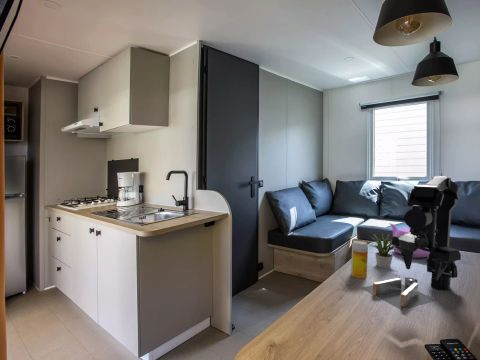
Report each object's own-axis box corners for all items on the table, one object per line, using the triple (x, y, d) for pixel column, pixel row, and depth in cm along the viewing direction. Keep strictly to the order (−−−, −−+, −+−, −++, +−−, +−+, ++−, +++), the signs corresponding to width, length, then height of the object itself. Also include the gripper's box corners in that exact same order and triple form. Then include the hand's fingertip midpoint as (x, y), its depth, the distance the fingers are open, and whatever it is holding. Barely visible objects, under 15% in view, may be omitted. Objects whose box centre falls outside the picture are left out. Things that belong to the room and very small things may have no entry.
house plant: (405, 277, 119) (407, 239, 118) (369, 272, 123) (371, 235, 122) (399, 265, 132) (400, 231, 131) (367, 261, 137) (368, 228, 136)
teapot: (443, 256, 146) (445, 228, 145) (414, 261, 139) (416, 231, 138) (404, 244, 167) (405, 220, 166) (377, 248, 160) (378, 222, 159)
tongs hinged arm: (406, 286, 107) (407, 276, 106) (421, 291, 103) (421, 280, 103) (388, 302, 94) (389, 290, 94) (404, 307, 91) (405, 295, 91)
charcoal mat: (393, 283, 112) (394, 280, 112) (437, 302, 97) (437, 300, 97) (360, 290, 105) (360, 287, 105) (401, 312, 90) (401, 309, 90)
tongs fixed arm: (398, 288, 105) (398, 277, 105) (401, 289, 104) (401, 278, 104) (372, 294, 100) (372, 282, 100) (375, 295, 99) (376, 284, 99)
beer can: (368, 281, 114) (369, 245, 113) (352, 279, 115) (353, 243, 114) (364, 275, 120) (366, 240, 119) (349, 274, 121) (350, 240, 120)
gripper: (380, 220, 93) (377, 266, 94) (437, 233, 76) (433, 289, 76) (404, 219, 97) (402, 263, 98) (463, 231, 80) (460, 284, 80)
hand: (421, 274), depth 88 cm, fingers open, 9 cm apart
